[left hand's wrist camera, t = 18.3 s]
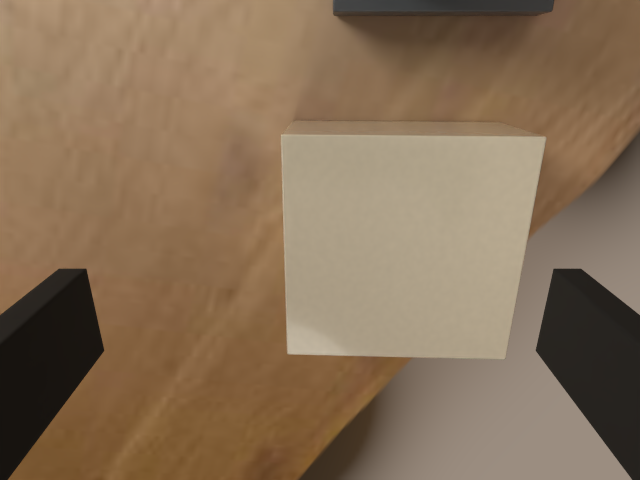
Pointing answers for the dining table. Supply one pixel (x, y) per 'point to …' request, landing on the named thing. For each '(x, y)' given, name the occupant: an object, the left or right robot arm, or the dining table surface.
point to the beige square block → (405, 236)
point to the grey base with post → (441, 7)
